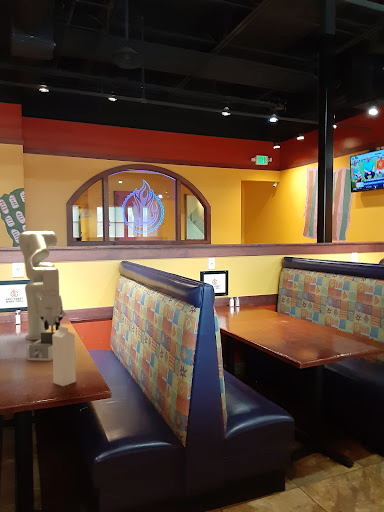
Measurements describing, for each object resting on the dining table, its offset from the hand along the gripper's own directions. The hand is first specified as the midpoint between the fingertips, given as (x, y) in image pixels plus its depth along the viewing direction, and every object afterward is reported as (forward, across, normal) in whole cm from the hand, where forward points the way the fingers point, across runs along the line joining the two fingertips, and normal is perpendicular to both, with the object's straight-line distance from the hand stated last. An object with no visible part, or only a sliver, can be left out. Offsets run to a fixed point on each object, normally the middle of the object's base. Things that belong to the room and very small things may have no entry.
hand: (52, 329), depth 203 cm
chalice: (+7, 0, 0) cm, 7 cm away
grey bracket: (+11, 0, -5) cm, 12 cm away
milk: (+11, +23, -42) cm, 49 cm away
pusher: (+10, 0, -11) cm, 15 cm away
